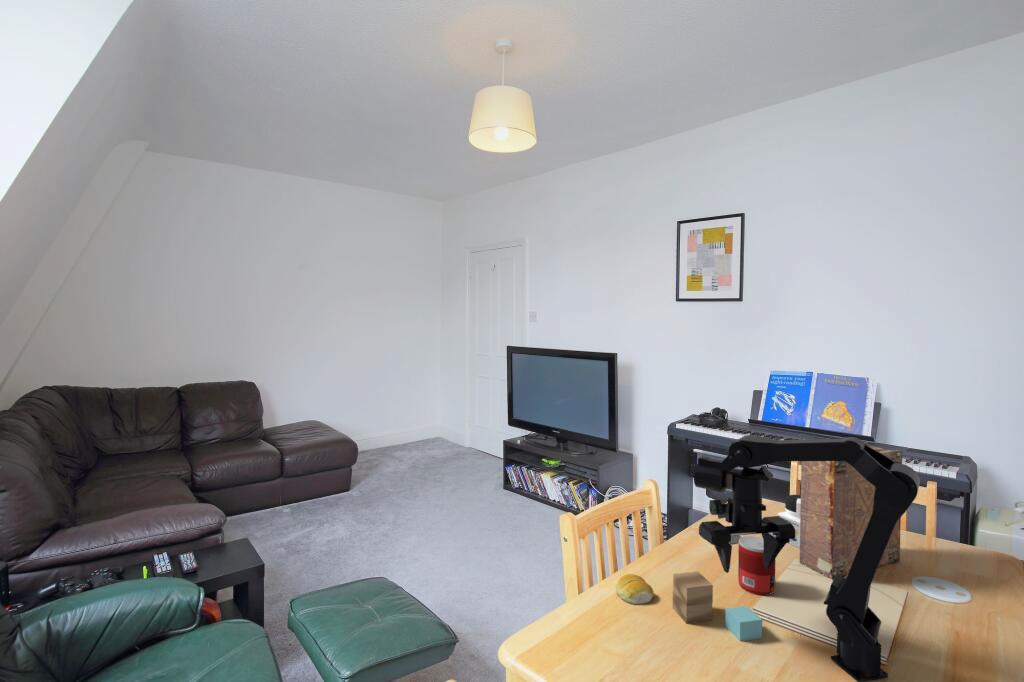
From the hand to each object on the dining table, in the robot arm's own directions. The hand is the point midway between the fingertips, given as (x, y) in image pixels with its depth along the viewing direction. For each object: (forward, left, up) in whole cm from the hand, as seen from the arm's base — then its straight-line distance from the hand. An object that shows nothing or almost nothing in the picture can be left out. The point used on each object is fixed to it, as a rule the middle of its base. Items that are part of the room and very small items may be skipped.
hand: (746, 570), depth 107 cm
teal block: (-2, +2, -12) cm, 13 cm away
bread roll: (+16, +18, -13) cm, 27 cm away
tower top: (+6, +9, -8) cm, 14 cm away
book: (+19, -44, -12) cm, 50 cm away
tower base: (+6, +9, -12) cm, 16 cm away
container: (+33, -40, -12) cm, 54 cm away
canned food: (+13, -12, -12) cm, 22 cm away
